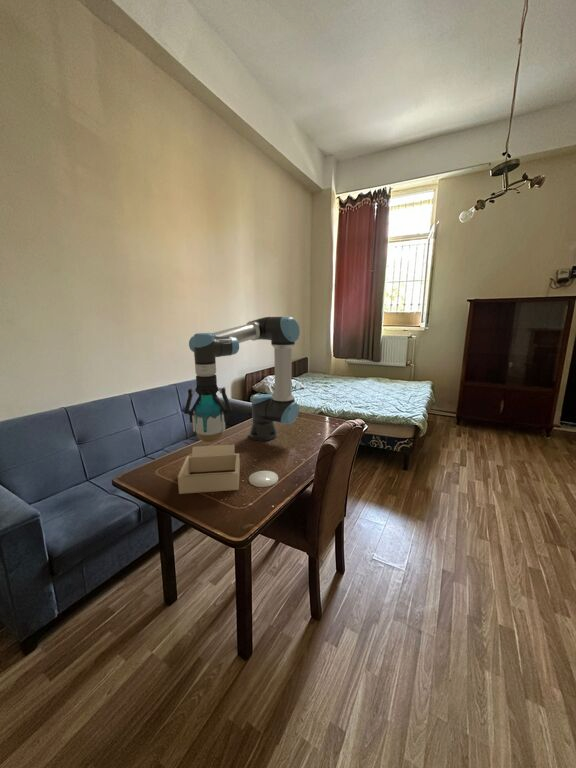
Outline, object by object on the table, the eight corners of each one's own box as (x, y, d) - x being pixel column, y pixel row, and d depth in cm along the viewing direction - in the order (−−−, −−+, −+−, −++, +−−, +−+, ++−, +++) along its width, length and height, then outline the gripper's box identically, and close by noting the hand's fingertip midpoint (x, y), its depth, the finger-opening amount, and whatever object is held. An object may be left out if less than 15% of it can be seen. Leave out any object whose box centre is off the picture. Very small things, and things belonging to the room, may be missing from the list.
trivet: (248, 472, 133) (248, 471, 133) (276, 471, 134) (276, 469, 134) (248, 488, 121) (248, 486, 121) (279, 486, 123) (279, 484, 123)
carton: (189, 467, 138) (187, 446, 136) (240, 464, 141) (239, 444, 139) (176, 499, 114) (174, 475, 112) (238, 495, 116) (237, 471, 114)
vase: (228, 437, 127) (226, 391, 122) (214, 447, 117) (211, 398, 113) (206, 433, 130) (203, 389, 126) (190, 443, 120) (186, 395, 116)
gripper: (172, 377, 113) (177, 434, 118) (236, 375, 115) (238, 432, 120) (177, 373, 120) (181, 427, 125) (237, 372, 122) (239, 425, 127)
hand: (209, 429), depth 123 cm, fingers closed on vase, 10 cm apart
